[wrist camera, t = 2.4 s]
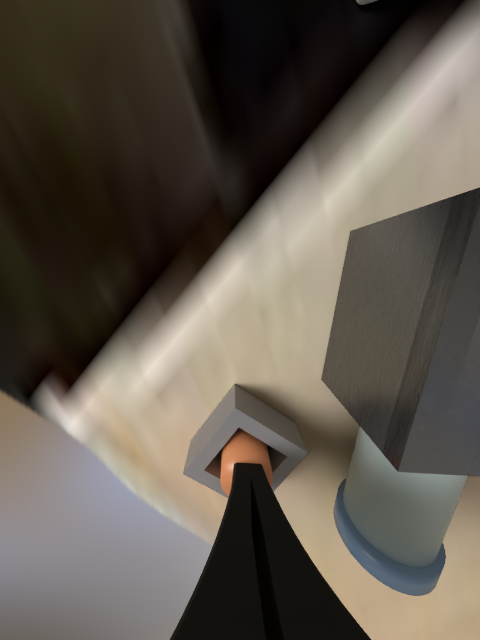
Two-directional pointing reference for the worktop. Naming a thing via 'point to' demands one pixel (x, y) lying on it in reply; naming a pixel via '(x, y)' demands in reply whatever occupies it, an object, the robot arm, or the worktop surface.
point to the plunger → (243, 456)
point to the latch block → (256, 421)
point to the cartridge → (395, 519)
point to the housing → (413, 336)
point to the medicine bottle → (365, 1)
